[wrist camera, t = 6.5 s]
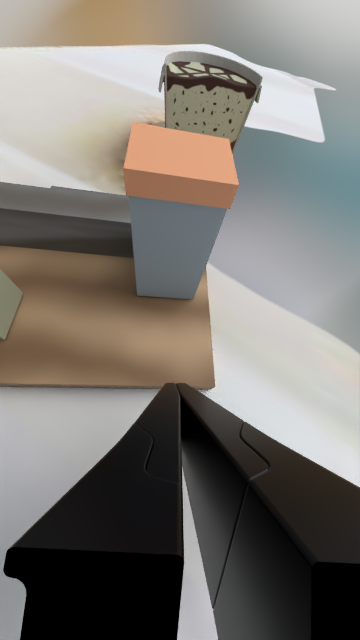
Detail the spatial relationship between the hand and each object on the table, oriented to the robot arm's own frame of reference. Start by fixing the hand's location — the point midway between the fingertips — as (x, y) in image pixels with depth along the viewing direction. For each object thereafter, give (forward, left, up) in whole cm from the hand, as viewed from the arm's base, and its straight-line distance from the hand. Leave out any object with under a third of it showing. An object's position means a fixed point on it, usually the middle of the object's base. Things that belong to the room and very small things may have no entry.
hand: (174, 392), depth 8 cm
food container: (+36, +6, -9) cm, 37 cm away
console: (+7, +9, -8) cm, 14 cm away
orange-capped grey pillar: (+10, +3, -7) cm, 13 cm away
